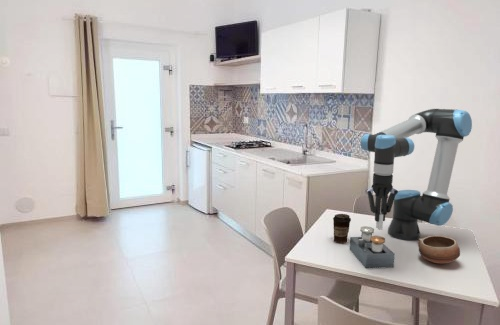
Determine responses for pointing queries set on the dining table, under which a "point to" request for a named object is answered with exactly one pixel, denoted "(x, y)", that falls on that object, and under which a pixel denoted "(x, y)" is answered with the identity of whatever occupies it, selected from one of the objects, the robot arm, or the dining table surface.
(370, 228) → the white light bulb
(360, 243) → the knob
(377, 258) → the mount
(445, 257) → the bowl
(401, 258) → the dining table surface
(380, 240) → the orange light bulb
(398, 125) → the robot arm
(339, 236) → the coffee cup
